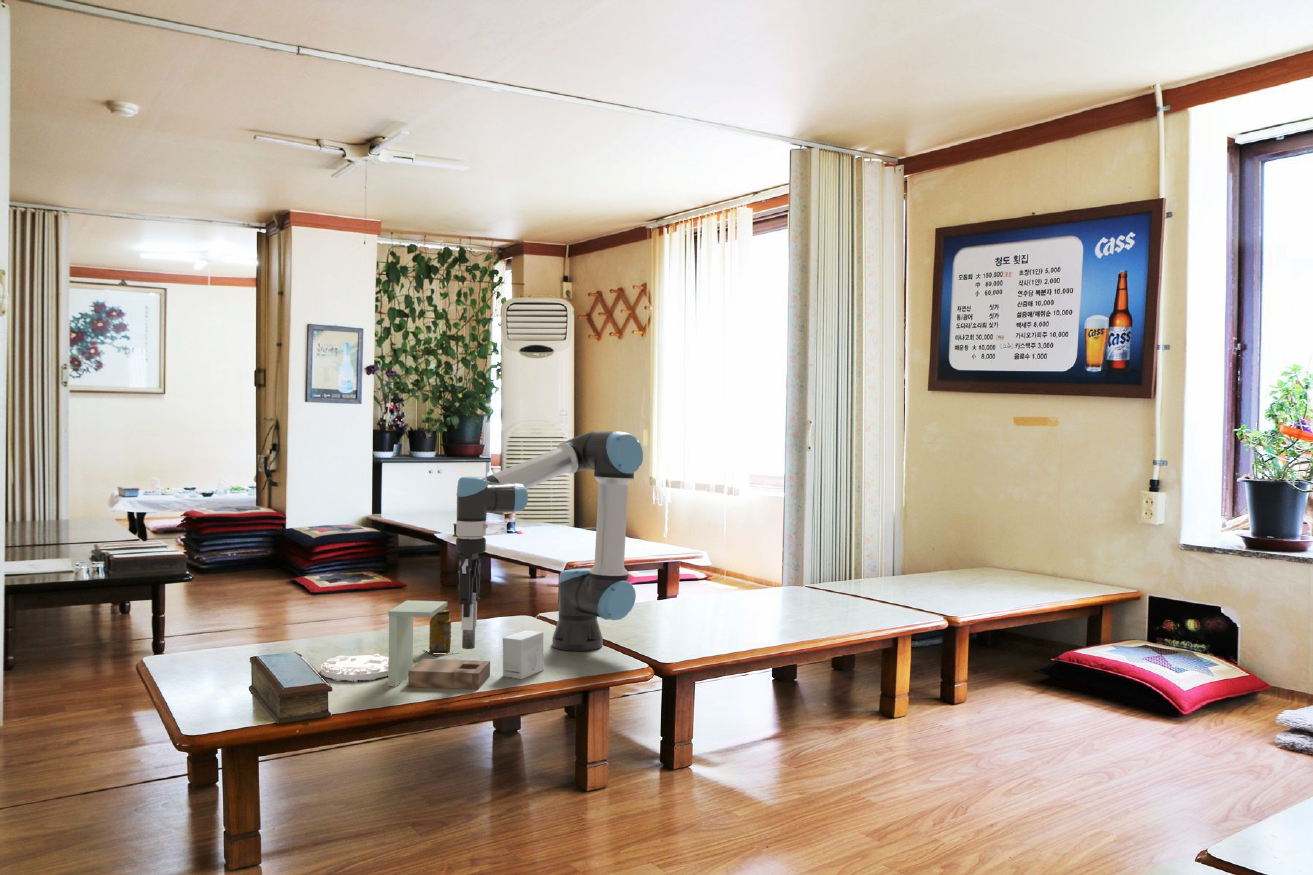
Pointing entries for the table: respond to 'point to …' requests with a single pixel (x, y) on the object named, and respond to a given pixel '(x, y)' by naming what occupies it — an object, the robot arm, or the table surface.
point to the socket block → (449, 673)
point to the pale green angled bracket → (405, 635)
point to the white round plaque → (356, 667)
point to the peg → (469, 635)
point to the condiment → (440, 633)
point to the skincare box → (523, 654)
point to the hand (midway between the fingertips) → (469, 627)
